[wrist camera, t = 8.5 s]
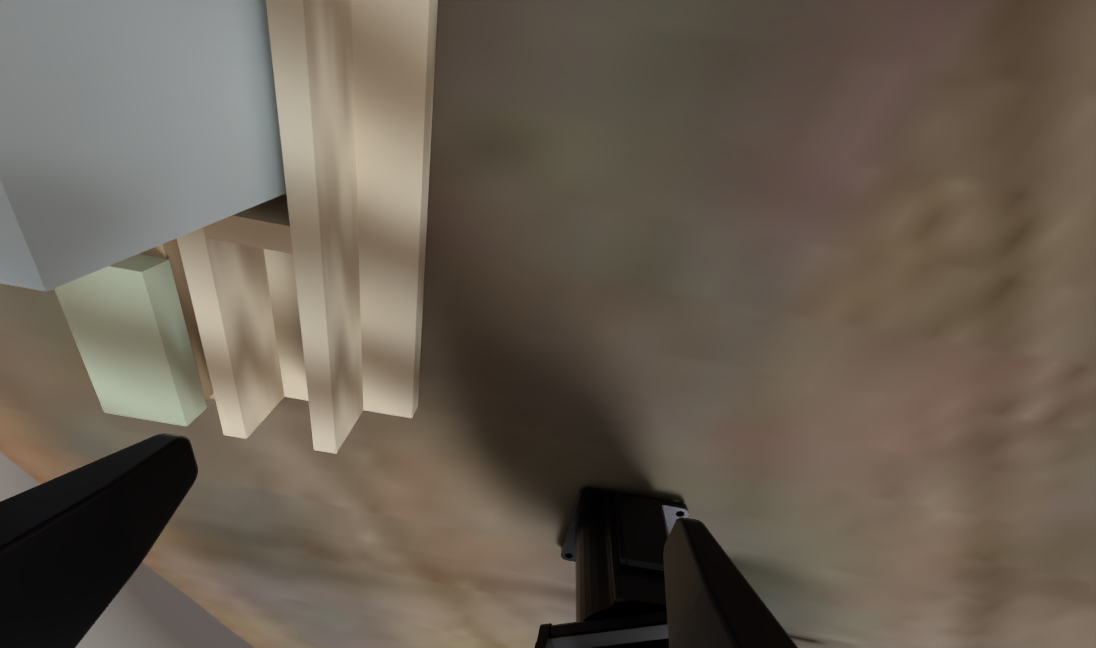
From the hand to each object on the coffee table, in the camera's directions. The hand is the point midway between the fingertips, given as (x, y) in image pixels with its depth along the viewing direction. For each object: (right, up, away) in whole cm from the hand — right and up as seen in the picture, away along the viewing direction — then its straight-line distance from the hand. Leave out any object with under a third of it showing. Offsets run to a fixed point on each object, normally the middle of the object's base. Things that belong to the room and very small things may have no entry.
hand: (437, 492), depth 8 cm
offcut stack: (-14, +4, +12) cm, 19 cm away
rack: (-10, +9, +10) cm, 17 cm away
